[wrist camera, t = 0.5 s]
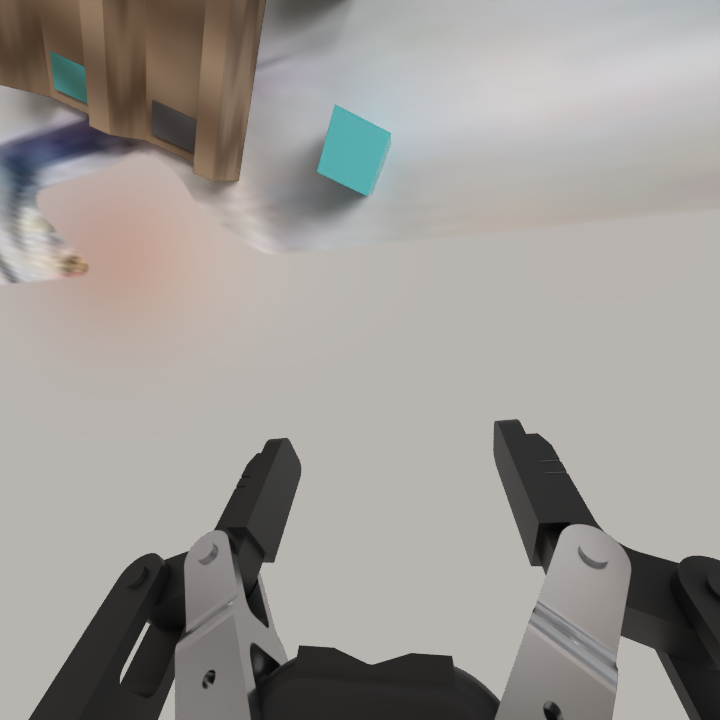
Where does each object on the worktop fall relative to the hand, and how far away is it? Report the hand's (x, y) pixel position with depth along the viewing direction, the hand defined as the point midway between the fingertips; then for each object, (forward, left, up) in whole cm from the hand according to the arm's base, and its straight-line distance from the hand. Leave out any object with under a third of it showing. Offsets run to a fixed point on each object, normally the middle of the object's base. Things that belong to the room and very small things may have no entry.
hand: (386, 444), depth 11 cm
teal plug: (-8, -7, -24) cm, 26 cm away
